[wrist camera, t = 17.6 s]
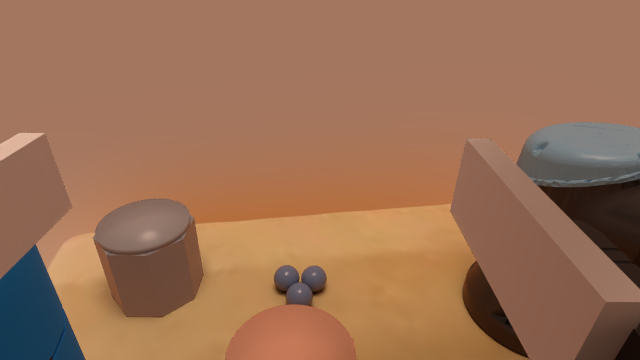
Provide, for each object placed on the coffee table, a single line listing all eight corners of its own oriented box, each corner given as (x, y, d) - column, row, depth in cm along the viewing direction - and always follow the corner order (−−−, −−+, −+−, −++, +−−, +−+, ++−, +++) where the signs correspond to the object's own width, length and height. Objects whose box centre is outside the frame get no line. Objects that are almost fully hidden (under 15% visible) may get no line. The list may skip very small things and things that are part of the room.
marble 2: (312, 295, 48) (313, 276, 46) (312, 316, 45) (312, 296, 43) (287, 295, 48) (286, 276, 46) (285, 315, 45) (284, 296, 43)
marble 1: (299, 278, 50) (299, 260, 49) (298, 296, 48) (298, 277, 46) (275, 278, 50) (274, 259, 49) (273, 296, 47) (272, 277, 46)
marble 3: (325, 279, 50) (326, 260, 49) (326, 297, 48) (327, 278, 46) (301, 278, 50) (301, 260, 49) (300, 296, 48) (300, 277, 46)
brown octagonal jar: (209, 259, 53) (199, 199, 48) (187, 317, 44) (173, 250, 39) (136, 258, 53) (120, 197, 48) (100, 316, 44) (76, 248, 39)
